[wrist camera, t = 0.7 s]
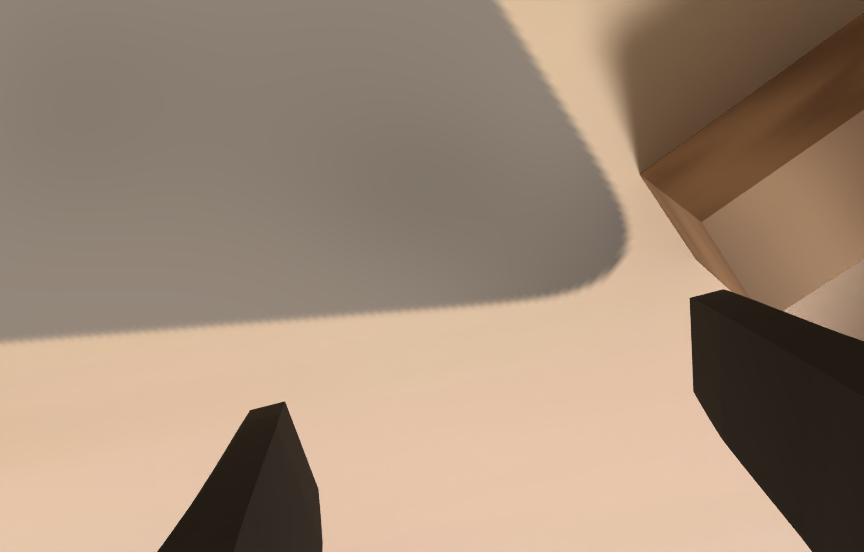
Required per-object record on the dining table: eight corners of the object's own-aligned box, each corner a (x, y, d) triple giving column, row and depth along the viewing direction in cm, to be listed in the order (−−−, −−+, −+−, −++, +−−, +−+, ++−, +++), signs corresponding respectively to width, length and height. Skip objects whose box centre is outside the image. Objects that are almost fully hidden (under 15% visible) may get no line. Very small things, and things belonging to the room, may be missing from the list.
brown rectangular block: (948, -52, 19) (1106, -59, 15) (990, 53, 20) (1146, 74, 16) (637, 172, 21) (701, 221, 17) (693, 257, 22) (765, 322, 18)
